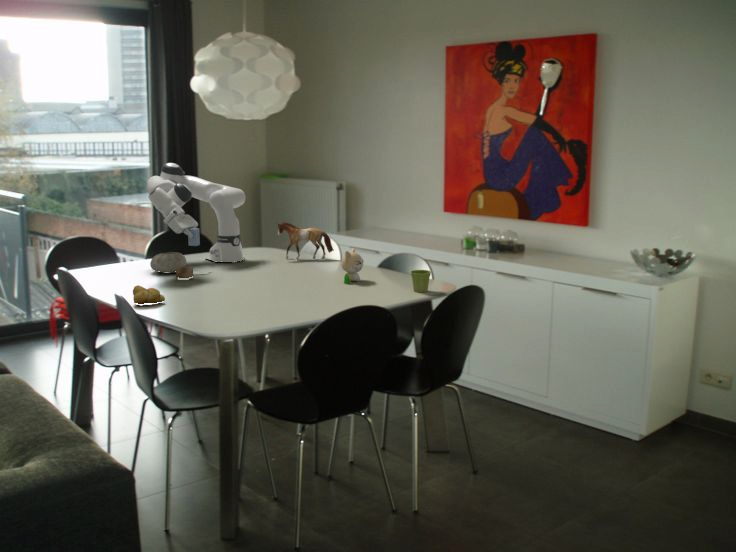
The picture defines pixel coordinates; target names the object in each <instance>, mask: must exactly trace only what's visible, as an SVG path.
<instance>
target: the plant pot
mask: <svg viewBox="0 0 736 552" xmlns="http://www.w3.org/2000/svg"><path fill="white" fill-rule="evenodd" d="M409 273H410V275H411V280H412V287H413V288H412V289H413V291H414V292H415V293H426V292H428V289H429V285H430V277H431V274H432V271H431V270H427V269H415V270H410V271H409Z"/></svg>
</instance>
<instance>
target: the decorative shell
mask: <svg viewBox="0 0 736 552" xmlns="http://www.w3.org/2000/svg"><path fill="white" fill-rule="evenodd" d="M149 265H150V268H151V270H153V271H154V270H155V271H154V272H156V271H160V272H175V271H176V268H177V267H180V266H187V258H186V255H185V256H184V255H183V254H182V253H181V252H178V251H176V252H175V251H168V252H160V253H158V254H155V256H153V257H152V258H151V261H150V263H149ZM175 273H176V272H175Z"/></svg>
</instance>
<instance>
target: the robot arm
mask: <svg viewBox="0 0 736 552" xmlns="http://www.w3.org/2000/svg"><path fill="white" fill-rule="evenodd" d="M146 189H147V193H148V196H147V197H148V199H149V201H150V203H151V204H152V205H153V206H154V208H155V210H156V212H157V213H158V214H159V215H161V217H163V218H164V219H163V223H165V225H167V226H168V227H169V228H170V229H171V230H172V231H173V232H174V233H175V234H182V233H184V235H186V236H189V237H190V238H193V237H194V234H193V233H191V232H189V231H188V229H190V228H198V226H199V223H198V221H196V220H195V219H194V217H192V216H191V215H190V214H186V212H185V210H184V209H183V208H182V207H183V206H184V205H185V204H186V203H188V202H189V201H191V199H192V198H194V199H197V200H199V201H202V202H205V203H209V206H210V207H211V208H212V209H213V211H214V213H215V215H216V219H217V223H218V224H217V226H218V235H215V236H216V237H215V238H216V243H215V244H213V245H212V246H211V247H210V249H209V256H207V257H205V258H206V259H210V260H213V261H217V262H221V261H222V262H232V263H237V262H236V261H240V262H243V261H244V260H245V259H244V258H245V256H244V251H243V246H242V243H241V241H242V236H241V234H240V233H241V231H240V220H239V218H237V216H236V213H235V211H234V210H235V209H237V208H239V207H241V206H243V205H244V203H245V201H246V193H245V191H244V190H242V189H241V188H237V187H233V186H228V185H225V184H220V183H215V182H212V181H209V180H205V179H204V178H200V177H198V176H193V175H186V172H185V171H184V170H183V169H182V167H181V166H180V165H179V164H177V163H174V162H165V163H164V164H163V165H162V167H161V172H160V176H159V175H153V176H151V177H149V178H148V180H147V182H146ZM208 257H209V258H208ZM242 260H243V261H242ZM234 261H235V262H234Z"/></svg>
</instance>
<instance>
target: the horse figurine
mask: <svg viewBox="0 0 736 552" xmlns="http://www.w3.org/2000/svg"><path fill="white" fill-rule="evenodd" d="M275 224H277V236H279V237H281V236H282V233H283V232H284V231H285V232H286V233H287V234H288V237H289V240H290V242H289V244H288V246H287V247H286V252H285V259H286V258H287V259H289V251H290V249H291V247H292V246H293V245H294V247H295V248H296V249H295V250H296V252H297V256H296V257H295V259H298V260H299V257H300V256H301V255H300V254H301V253H300V249H299V242H300V243H301V242H308V241H310V242H311V244H312V245H313V246H314V247H315V251H314V253H313V256H312V260H313V259H314V260H315V259H316V255H317V253H318V252H319V251H318V250H320V248H321V250H322V256H321V259H325V258H326V250H325V247H326V249H327V252H328V253H329V254H331V253H332V252H334V251H335V249H334V248H333V245H332V242H331V238H330V236H329V235H328V233H326V232H325V231H323V230H320V229H319V228H315V227H309V228H300V227H297V226H296V225H294V224H292V223H290V222H280V223H277V222H276V223H275ZM322 239H323V240H324V244H323V242H322Z"/></svg>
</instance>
